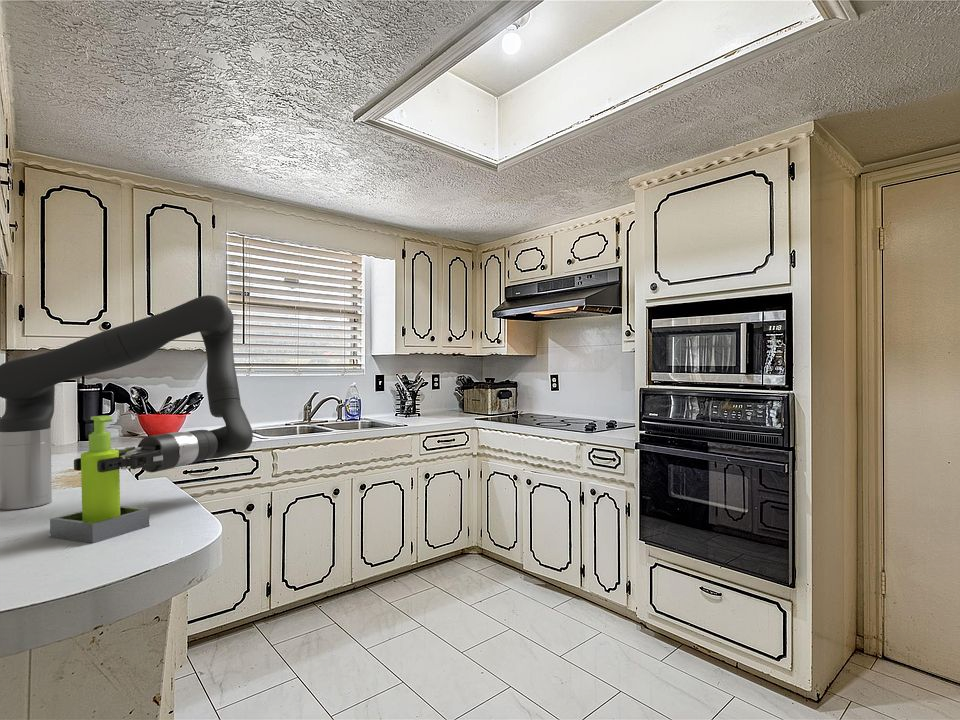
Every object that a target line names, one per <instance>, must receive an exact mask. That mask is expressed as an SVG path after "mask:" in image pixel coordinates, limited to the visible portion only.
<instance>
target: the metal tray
mask: <svg viewBox="0 0 960 720" xmlns="http://www.w3.org/2000/svg"><path fill="white" fill-rule="evenodd" d="M148 527H150V509H149V508H146V507H145V508H144V507H135V506H134V507H133V506H123V505H120V516H117V517H113V518H109V519H106V520H102V521H98V522H94V523H93V522H85V521H82V510H81V511H78V512H77V511H76V512H73V513H68V514H66V515H60V516H57V517H52V518H50V519H49V538H54V539H60V540H69V541H76V542H83V543H89V544H95V543H98V542H101V541H104V540H108V539H111V538H114V537H119V536H120V535H124V534H128V533H130V532H134V531H138V530H141V529H144V528H148Z"/></svg>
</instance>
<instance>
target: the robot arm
mask: <svg viewBox="0 0 960 720" xmlns="http://www.w3.org/2000/svg"><path fill="white" fill-rule="evenodd" d="M234 321H235V320H234V315H233V312H232V310H231V309H230V308H229V306H228V304H227V303H226V302H225V300H223V299H222V298H220V297H219V296H215V295H211V294H210V295H209V294H208V295H201V296H198V297H195V298H193V299H190V300H188V301H186V302H184V303H182V304H180V305H177V306H174V307H172V308H170V309H167V310H166V311H163V312H160V313H156V314H154V315H151V316H147V317H145V318H141V319H138V320H136V321H132V322H129V323H126V324H121V325H119V326H115V327H113V328H109V329H106V330H103V331H101V332H97V333H96V334H93V335H90V336H88V337H85V338H82V339H79V340H76V341H75V342H73V343H69V344H66V345H64V346H63V347H60V348H57V349H53V350H51V351H47V352H43V353H39V354H34V355H30V356H26V357H21V358H17V359H12V360H8V361H6V362H4V363H2V364H0V398H2V399H5V400H6V408H5V411H4V414H3V415H2V416H1V417H0V510H8V511H9V510H19V509H21V510H22V509H27V508H28V509H29V508H35V507H38V506H44V505H47V504H49V503H51V502H52V501H53V495H52V494H53V493H52V491H53V490H52V441H51V439H52V437H51V433H52V432H51V430H52V429H51V428H52V426H51V425H52V424H51V422H52V419H53V416H54V413H55V397H56V396H55V395H56V394H55V392H56V389H55V387H56V385H59V384H60V383H63V382H65V381H68V380H71V379H73V380H74V379H76V378H81V377H85V376H92V375H96V374H100V373H105V372H109V371H114V370H117V369H120V368H123V367H125V366H129V365H132V364H135V363H137V362H140V361H143V360H145V359H147V358H149V357H150V356H152V355H153V354H155V353H156V352H157V351H159V350H160V349H161V348H163V347H164V346H165V345H167V344H168V343H170V342H173V341H174V340H176V339H179V338H181V337H186V336H188V335H192V334H195V333H200V336H201V338H202V341H203V345H204V347H205V352H206V361H207V364H206V365H207V367H206V378H205V379H206V384H205V385H206V393H207V399H208V400H207V402H208V408H209V411H210V412H209V413H210V415H211V416H212V417H214V418H222V419H223V421H224V423H225V425H224V426H222V427H219V428H214V429H211V430H209V429H208V430H207V429H195V430H190V431H176V432H175V431H173V432H167V433H162V434H161V433H160V434H153V435H148V436H145V437H143V438H142V439H141V440H140V441H139V443H138V445H137V446H135V445H134V446H125V447H124V448H119V449H118V448H114V450H119V457H114V458H109V459H103V460H99V461H98V462H97V470H98V472H107V471H112V470H117V469H119V470H124V471H126V470H136V469H143V471H145V472H147V473H156V472H161V471H166V470H170V469H175V468H179V467H183V466H186V465H188V464H193V463H198V462H202V461H206V460H212V459H214V460H215V459H220V458H225V457H228V456H231V455H235V454H238V453H240V452H244V451H246V450H248V449H249V448H250V447H251V446H252V442H253V439H254V433H253V429H252V425H251V423H250V422H249V419H248V416H247V414H246V413H245V411H244V409H243V407H242V403H241V396H240V391H239V390H240V389H239V383H238V377H237V371H236V364H235V358H234V357H235V356H234V324H235V323H234ZM73 470H74V471H76V472H77V471H78V472H79V471H80V472H81V457H80V458H79V457H77V458H75V459H74V460H73Z"/></svg>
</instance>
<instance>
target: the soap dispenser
mask: <svg viewBox="0 0 960 720" xmlns="http://www.w3.org/2000/svg"><path fill="white" fill-rule="evenodd" d="M113 420H114V418H113V417H111V416H109V415H94V416H90V421H93V431H92V432H91V433H89V434H88V451H85V452H83V453H80V458H81V470H80V474H81V476H80V477H81V478H80V481H81V511H82V521H85V522H93V523H94V522H98V521H102V520H106V519H109V518H113V517H117V516H120V506H121V485H120V484H121V483H120V481H121V479H120V469H117V470H112V471H107V472H98V470H97V462H98V461H99V460H103V459H109V458H114V457H119V450H115V448H114V449H113V448H112V440H111V439H112V437H111V436H112V435H111V432H108V431H107V430H106V423H109V422H113Z"/></svg>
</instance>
